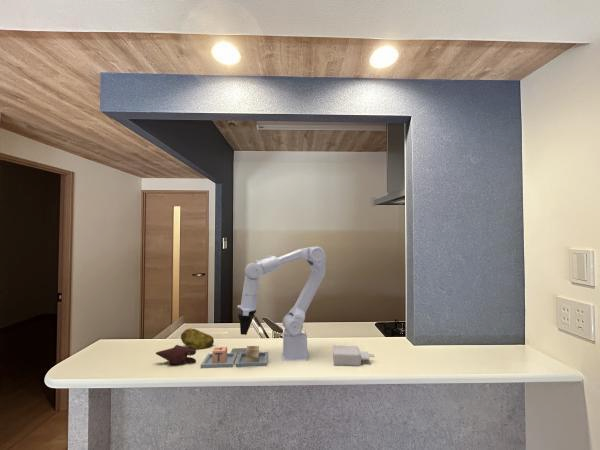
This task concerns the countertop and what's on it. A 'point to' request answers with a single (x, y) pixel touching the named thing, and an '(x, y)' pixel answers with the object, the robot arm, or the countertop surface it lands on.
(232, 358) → the dish
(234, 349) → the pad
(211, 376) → the countertop surface
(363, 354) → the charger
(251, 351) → the plain cube
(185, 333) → the potato
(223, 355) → the letter cube
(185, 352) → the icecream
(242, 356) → the dish
